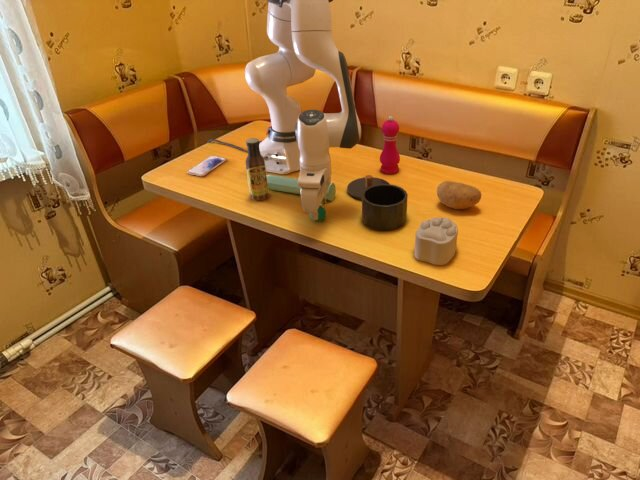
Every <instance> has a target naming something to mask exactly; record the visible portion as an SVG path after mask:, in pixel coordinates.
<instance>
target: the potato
mask: <svg viewBox="0 0 640 480" xmlns="http://www.w3.org/2000/svg"><path fill="white" fill-rule="evenodd" d="M436 187H437V188H436V195H437V197H438V199H439V201H440V202H441V203H442V204H444V205H445V206H447V207H449V208H451V209H453V210H465V209H470V208H472V207H474V206H475V205H477V204H478V203H480V201H481V199H482V192H481V190H479V188H477V187H476V186H473V185H469V184H466V183H462V182H456V181H451V180H444V181H442V182H440V183H439V184H438V186H436Z"/></svg>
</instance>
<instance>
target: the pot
mask: <svg viewBox="0 0 640 480" xmlns="http://www.w3.org/2000/svg"><path fill="white" fill-rule="evenodd" d="M408 197H409V195H408V192H407V190H405V189H404V188H403V187H401V186H399V185H395V184H390V183H389V184H378V185H373V186H370V187H368V188H366V189H365V190H364V191H363V193H362V199H361V221H362V223H363V225H365V226H366V227H367V228H368V229H371V230H374V231H377V232H389V231H390V232H391V231H396V230H398V229H401V228H402V227H403V226H404V225H405V224H406V223H407V218H408V216H407V215H408V200H409V199H408Z"/></svg>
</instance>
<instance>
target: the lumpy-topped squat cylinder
mask: <svg viewBox="0 0 640 480" xmlns="http://www.w3.org/2000/svg"><path fill="white" fill-rule="evenodd" d="M458 235H459V229H458V226H457V224H456V223H455V222H454V221H453V220H452V219H450V218H448V217H442V216H441V217H440V216H439V217H433V218H429V219H427V220H423V221H422V222H421V223H420V225H419V226H418V228H417V230H416V232H415V240H414V257H415V259H416V260H418V261H420V262H421V261H422V262H425V263H428V264H429V263H430V264H432V265H435V266H444V265H447V264H448V263H449V262H450V261H451V260H452V259H453V258H454V256H455V254H456V250H457V242H458Z"/></svg>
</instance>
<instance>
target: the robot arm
mask: <svg viewBox="0 0 640 480" xmlns="http://www.w3.org/2000/svg"><path fill="white" fill-rule="evenodd" d="M266 1H267V2H268V3H267V16H266V17H267V19H266V20H267V21H266V35H267V37H268V39H269V40H270V42H271V43H272V44H274V45H275V46H277V47H278V51H277V52H275V53H271V54H265V55H262V56H261V55H260V56H258V57H257V58H254V59H252V60H251V61H249V62H247V63H246V66H245V69H244V79H245V81H246V84H247V85H248V87H249V89H251V90H252V91H253V92H255V93H257V94H258V95H260V96H261V98H262V99H263V100H264V101H265V103H266V105H267V108H268V112H269V117H270V123H269V126H268V127H267V130H266V131H265V135H266V137H265V138H264V139H262V140H259V143H260V144H259V149H260V154H261V155H262V157H263V158H264V161H265V166H266V173H273V174H279V175H289V174H290V173H293V172H297V171H298V172H299V175H298V178H297V179H298V187H301V194H300V200H301V205H302V210H303V211H304V213H305V214H310V213H311V215H312V218H311V220H312V221H314V220H318V218H319V213H318V211H317V210H318V208H319V206H321V205H325V204H326V203H327V199H326V194H327V189H328V187H329V185H330V183H332V174H333V173H332V160H331V155H330V151H329V150H330V148H340V149H350V150H351V149H353V148H354V147H356V145H358V144H359V142H361V138H362V125H361V122H360V121H361V120H360V119H359V116H358V113H357V108H356V102H355V97H354V91H353V86H352V80H351V76H350V71H349V67H348V62H347V59H346V56H345V55H344V53H343V52H342V51H340V50H339V49H338V48H337V46H336V44H335V40H334V36H333V20H332V11H331V7H330V3H333V1H334V0H266ZM316 70H317V71H320V72H323V73H325V74H327V75H328V76H330V78H332V79H333V81H334V82H335V83H336V87H337V91H338V97H339V102H340V107H341V111H340V112H329V113H328V112H326V113H325V112H323V111H321V110H318V109H307V110H304V111H302V110H303V109H302V105H301V103H300V102H299V100H298V99H296V98H295V97H293V96H290V95H288V91H287V88H289V87H292V86H296V85H300V84H303V83H304V82H306V81H309V80H310V79H312V78H313V77H314V76H315V73H316ZM211 142H216V143H219V144H221V145H225V146H229V147H231V148H235V149H238V150H241V151H242V152H245V153H247V154H248V150H245V149H244V148H242V147H241V146H237V145H235V144H232V143H229V142H225V141H221V140H218V139H215V138H211V139H208V141H207V143H208V144H209V143H211Z"/></svg>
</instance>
